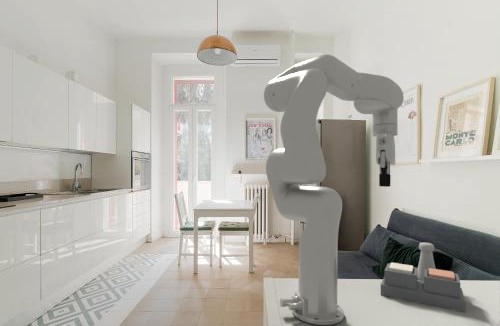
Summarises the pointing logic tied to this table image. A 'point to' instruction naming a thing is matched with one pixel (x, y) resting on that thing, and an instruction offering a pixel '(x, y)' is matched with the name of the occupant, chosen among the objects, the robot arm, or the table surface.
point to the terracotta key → (441, 274)
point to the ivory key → (401, 268)
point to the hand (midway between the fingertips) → (384, 186)
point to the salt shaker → (425, 259)
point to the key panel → (423, 289)
